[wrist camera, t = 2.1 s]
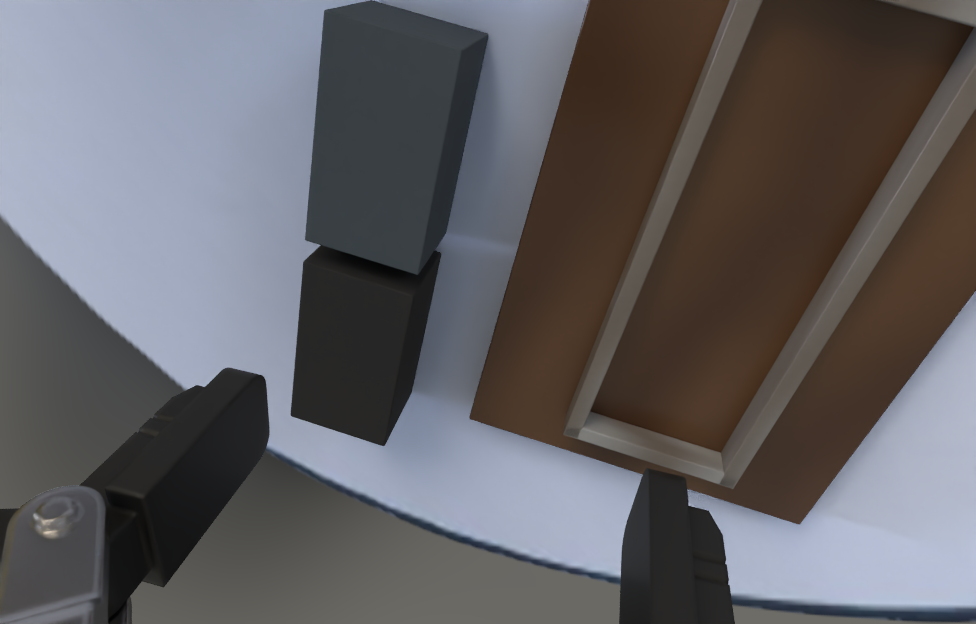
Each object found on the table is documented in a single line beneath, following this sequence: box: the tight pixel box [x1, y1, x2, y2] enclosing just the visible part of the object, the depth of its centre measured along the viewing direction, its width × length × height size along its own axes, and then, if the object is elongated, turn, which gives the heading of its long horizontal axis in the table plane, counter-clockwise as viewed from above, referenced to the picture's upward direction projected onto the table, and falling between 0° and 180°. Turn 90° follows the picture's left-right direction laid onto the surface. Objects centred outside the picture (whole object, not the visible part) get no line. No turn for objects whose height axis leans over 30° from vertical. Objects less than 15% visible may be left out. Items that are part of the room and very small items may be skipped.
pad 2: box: [291, 245, 441, 446], centre depth 31 cm, size 5×9×4 cm, turn 166°
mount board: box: [469, 0, 976, 524], centre depth 26 cm, size 18×26×3 cm
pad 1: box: [305, 0, 488, 275], centre depth 26 cm, size 5×9×4 cm, turn 166°
